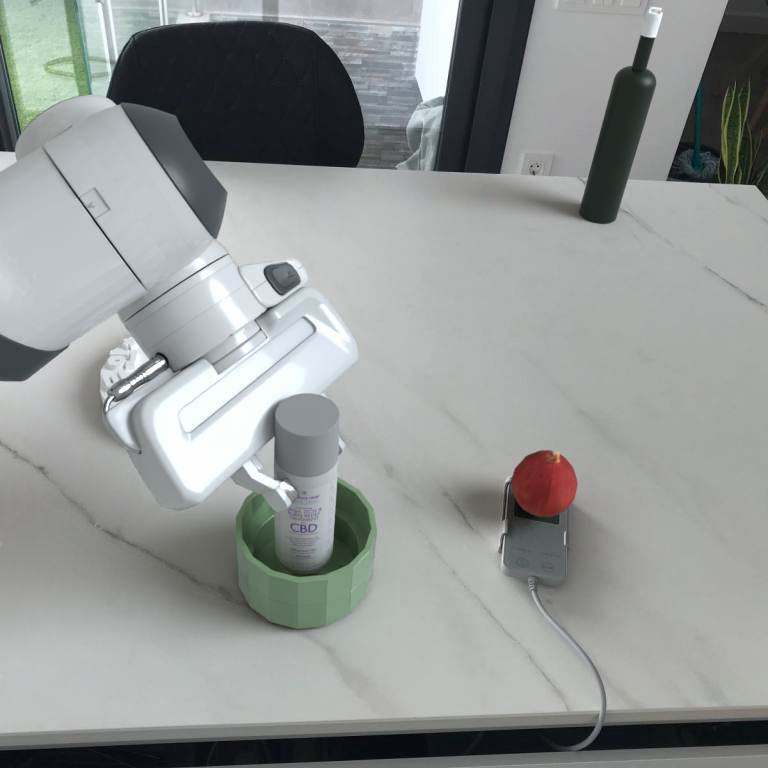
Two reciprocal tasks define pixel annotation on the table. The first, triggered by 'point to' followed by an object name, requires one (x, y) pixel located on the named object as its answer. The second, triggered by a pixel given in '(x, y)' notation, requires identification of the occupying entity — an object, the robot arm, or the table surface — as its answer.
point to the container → (306, 480)
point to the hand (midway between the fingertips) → (313, 479)
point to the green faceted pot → (306, 591)
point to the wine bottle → (621, 129)
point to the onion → (544, 483)
